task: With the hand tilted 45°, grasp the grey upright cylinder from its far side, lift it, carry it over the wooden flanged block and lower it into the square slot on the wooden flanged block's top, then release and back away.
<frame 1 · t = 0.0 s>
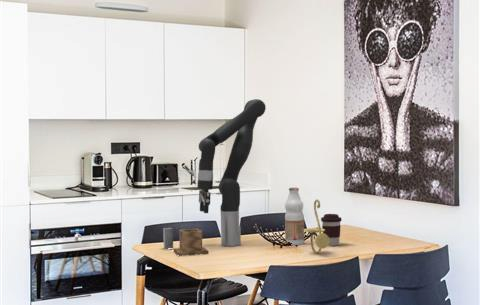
hand: (203, 212, 299), 17 cm above the table, tool pointing down, fingers open, 8 cm apart
wall sconce: (316, 254, 276), on the table
coffee cup: (331, 245, 297), on the table
wooden flanged block: (191, 252, 284), on the table
fruit juice: (294, 244, 304), on the table
grey upright cylinder: (168, 248, 296), on the table
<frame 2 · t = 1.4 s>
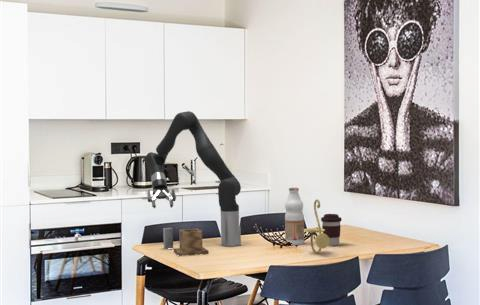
hand: (163, 206, 307), 19 cm above the table, tool tilted 45°, fingers open, 8 cm apart
nothing on the table moved.
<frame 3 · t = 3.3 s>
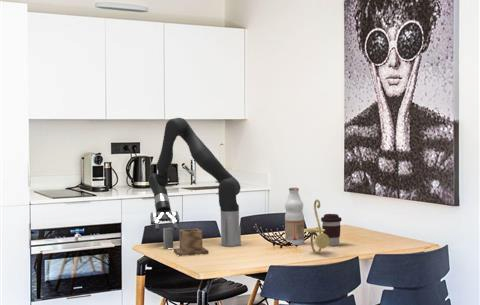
hand: (166, 229, 300), 9 cm above the table, tool tilted 45°, fingers open, 8 cm apart
nothing on the table moved.
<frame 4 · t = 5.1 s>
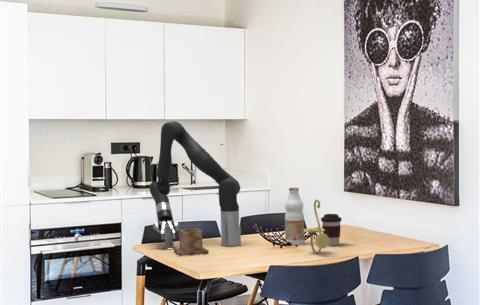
hand: (169, 240, 294), 4 cm above the table, tool tilted 45°, fingers closed on grey upright cylinder, 4 cm apart
grey upright cylinder: (168, 248, 296), on the table, touching gripper
everything else where it was.
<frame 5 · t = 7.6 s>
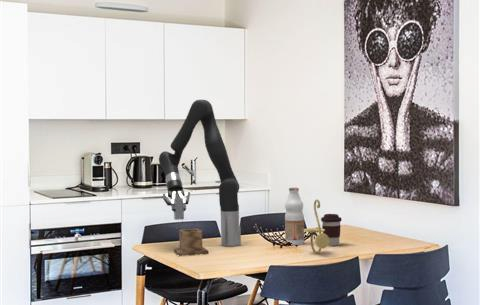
hand: (179, 210, 288), 20 cm above the table, tool tilted 45°, fingers closed on grey upright cylinder, 4 cm apart
grey upright cylinder: (179, 218, 290), point 15 cm above the table, touching gripper
everything else where it was.
when the fingers open (13 cm above the table, at t = 9.9 s): grey upright cylinder drops 2 cm, resting on wooden flanged block.
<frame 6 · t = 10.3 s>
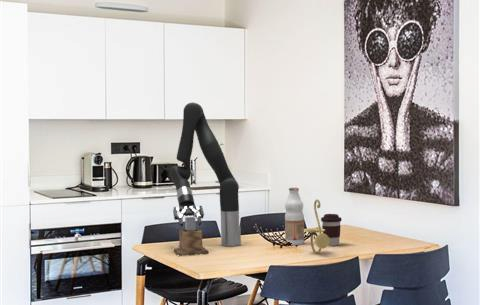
hand: (191, 225, 283), 13 cm above the table, tool tilted 45°, fingers open, 8 cm apart
grey upright cylinder: (190, 239, 284), point 6 cm above the table, touching wooden flanged block
everything else where it was.
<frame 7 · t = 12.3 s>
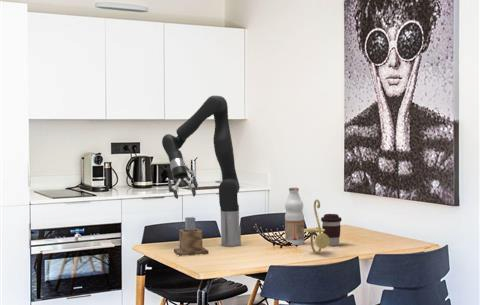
hand: (185, 196, 297), 25 cm above the table, tool tilted 35°, fingers open, 8 cm apart
nothing on the table moved.
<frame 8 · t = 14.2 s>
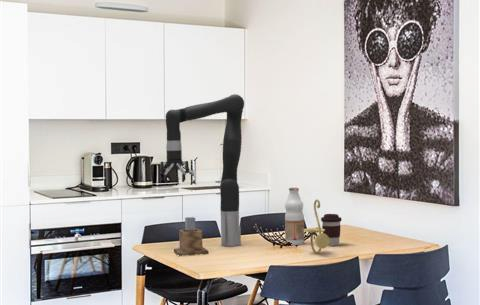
hand: (174, 182, 303), 32 cm above the table, tool pointing down, fingers open, 8 cm apart
nothing on the table moved.
at the end: grey upright cylinder 0.1 cm off-centre on the wooden flanged block, point 6.5 cm above the wooden flanged block's base; grey upright cylinder tilted 0°; the gripper is holding nothing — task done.
